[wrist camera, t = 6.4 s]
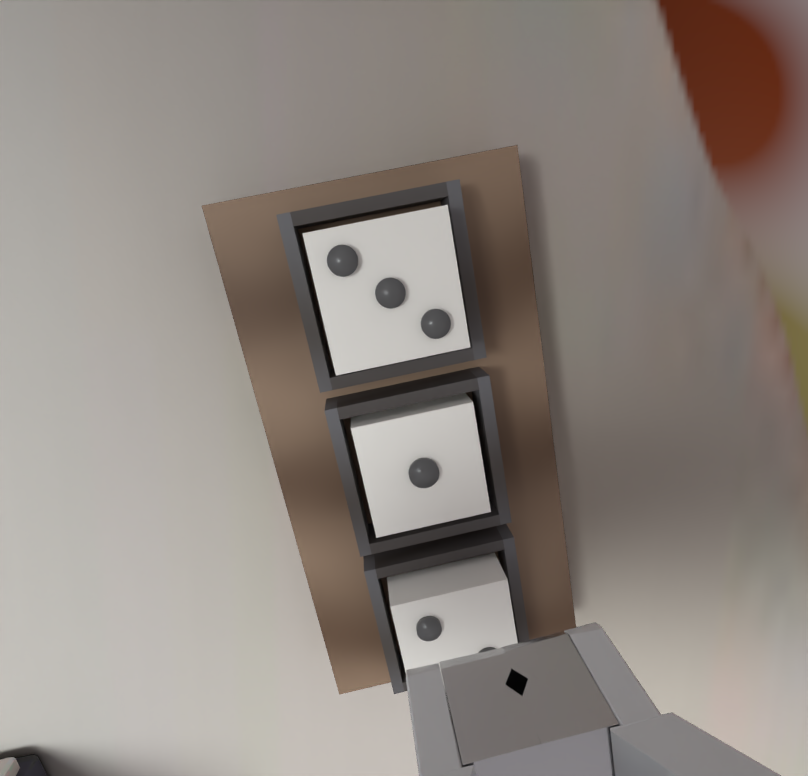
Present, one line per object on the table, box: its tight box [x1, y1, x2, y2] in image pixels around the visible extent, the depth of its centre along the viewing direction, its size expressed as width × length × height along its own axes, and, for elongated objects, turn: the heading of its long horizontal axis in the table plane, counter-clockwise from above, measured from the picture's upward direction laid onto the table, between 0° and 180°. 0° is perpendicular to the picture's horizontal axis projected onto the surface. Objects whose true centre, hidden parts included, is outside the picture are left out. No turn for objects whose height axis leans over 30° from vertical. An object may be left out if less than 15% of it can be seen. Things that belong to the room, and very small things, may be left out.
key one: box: [351, 393, 491, 538], centre depth 18 cm, size 4×4×2 cm
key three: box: [302, 205, 470, 375], centre depth 15 cm, size 4×4×2 cm
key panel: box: [202, 145, 576, 694], centre depth 19 cm, size 19×10×3 cm, turn 11°
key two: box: [387, 552, 518, 693], centre depth 18 cm, size 4×4×2 cm
